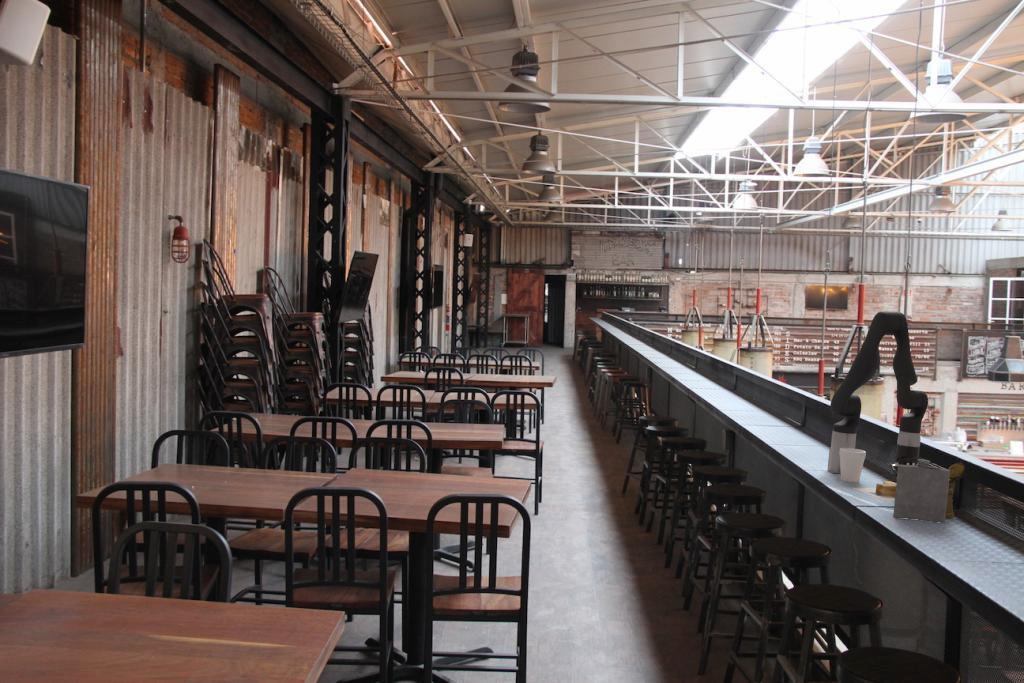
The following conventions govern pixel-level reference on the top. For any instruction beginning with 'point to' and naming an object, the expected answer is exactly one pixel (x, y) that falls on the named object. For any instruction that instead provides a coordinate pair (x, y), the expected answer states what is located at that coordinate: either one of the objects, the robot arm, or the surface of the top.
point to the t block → (886, 488)
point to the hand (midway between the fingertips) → (904, 489)
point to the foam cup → (851, 464)
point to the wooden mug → (953, 485)
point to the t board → (875, 494)
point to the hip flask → (921, 492)
